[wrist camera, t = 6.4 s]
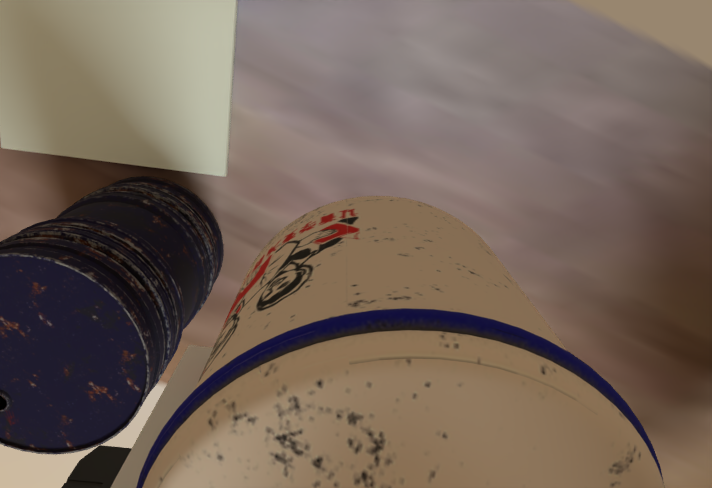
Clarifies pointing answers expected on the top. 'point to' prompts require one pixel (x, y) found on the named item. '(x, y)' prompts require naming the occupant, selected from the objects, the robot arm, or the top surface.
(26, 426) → the dark blue canister
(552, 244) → the top surface
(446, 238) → the teacup with lid
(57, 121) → the coaster
